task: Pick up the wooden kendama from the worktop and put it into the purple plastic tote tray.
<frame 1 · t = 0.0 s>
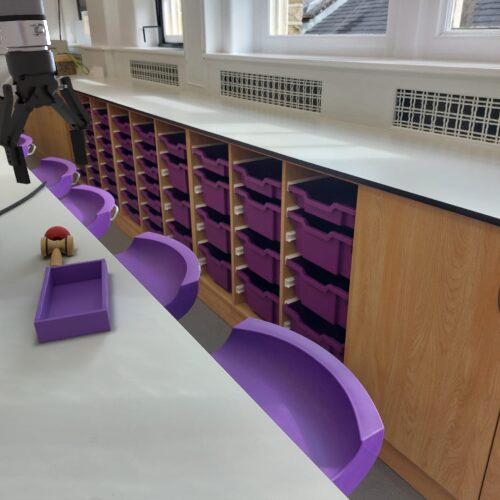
hand: (54, 173, 90), 24 cm above the table, tool pointing down, fingers open, 13 cm apart
kendama: (59, 261, 112), on the table
tote: (78, 308, 92), on the table
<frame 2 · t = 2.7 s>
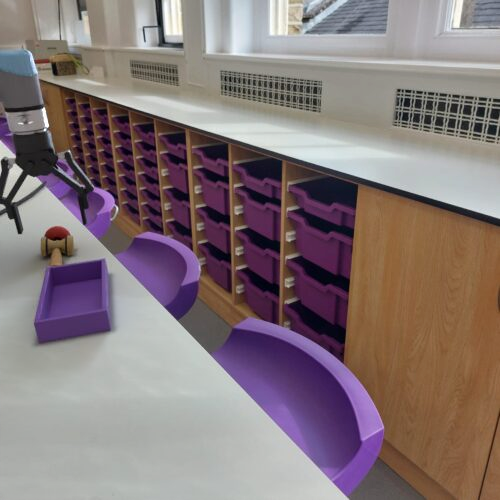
hand: (53, 227, 108), 8 cm above the table, tool pointing down, fingers open, 13 cm apart
nothing on the table moved.
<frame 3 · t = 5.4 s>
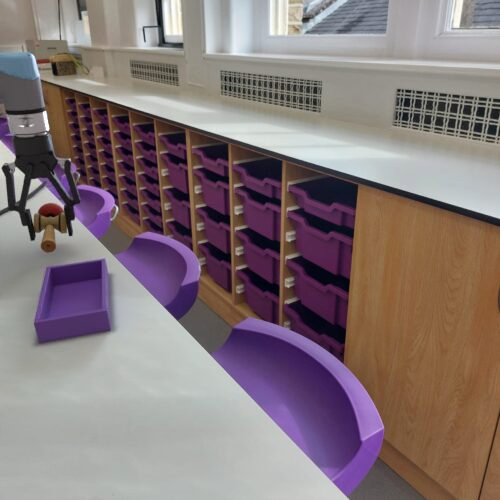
hand: (52, 236, 109), 6 cm above the table, tool pointing down, fingers closed on kendama, 7 cm apart
kendama: (53, 238, 110), point 6 cm above the table, touching gripper
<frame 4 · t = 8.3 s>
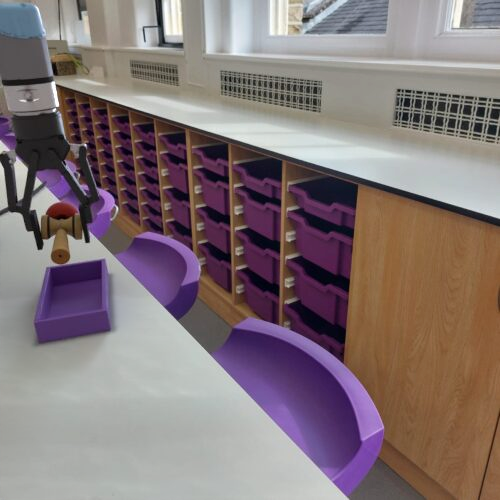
hand: (64, 243, 87), 13 cm above the table, tool pointing down, fingers closed on kendama, 7 cm apart
kendama: (65, 245, 87), point 13 cm above the table, touching gripper
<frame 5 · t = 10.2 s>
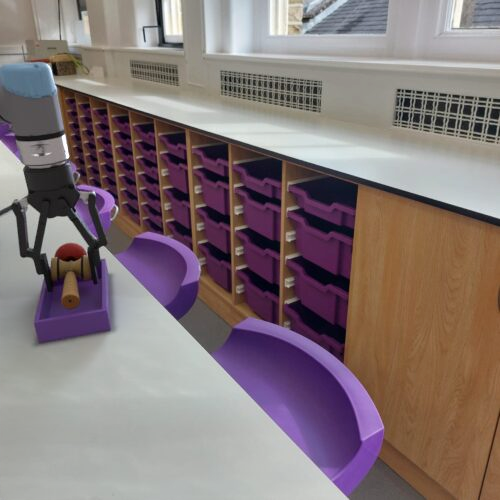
hand: (73, 284, 90), 5 cm above the table, tool pointing down, fingers closed on kendama, 7 cm apart
kendama: (74, 286, 90), point 5 cm above the table, touching gripper
when the fingers open (3 cm above the table, at t = 12.0 s): kendama stays where it is, resting on tote.
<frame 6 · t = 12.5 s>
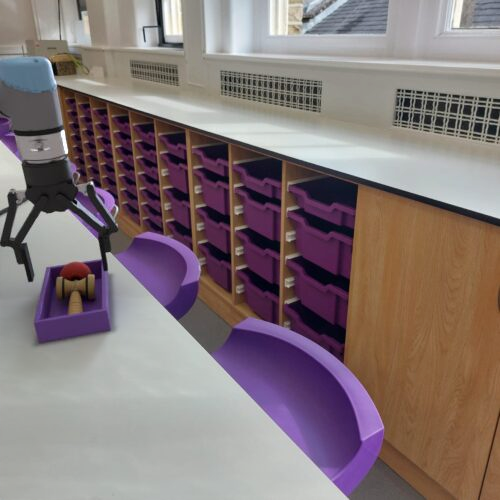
hand: (69, 273, 89), 7 cm above the table, tool pointing down, fingers open, 12 cm apart
kendama: (79, 305, 92), resting on tote
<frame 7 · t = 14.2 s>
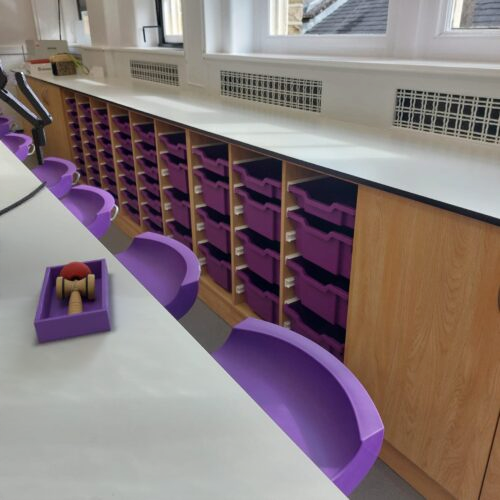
hand: (2, 166, 90), 25 cm above the table, tool pointing down, fingers open, 13 cm apart
nothing on the table moved.
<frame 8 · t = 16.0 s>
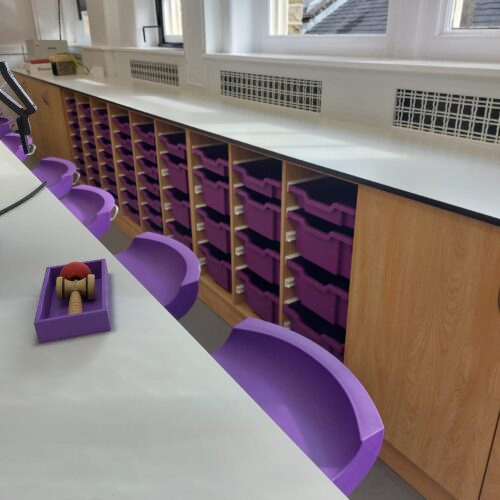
nothing on the table moved.
at the end: kendama inside the target area in the tote (0.2 cm from its centre), point 0.4 cm above the tote's base; the gripper is holding nothing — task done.
